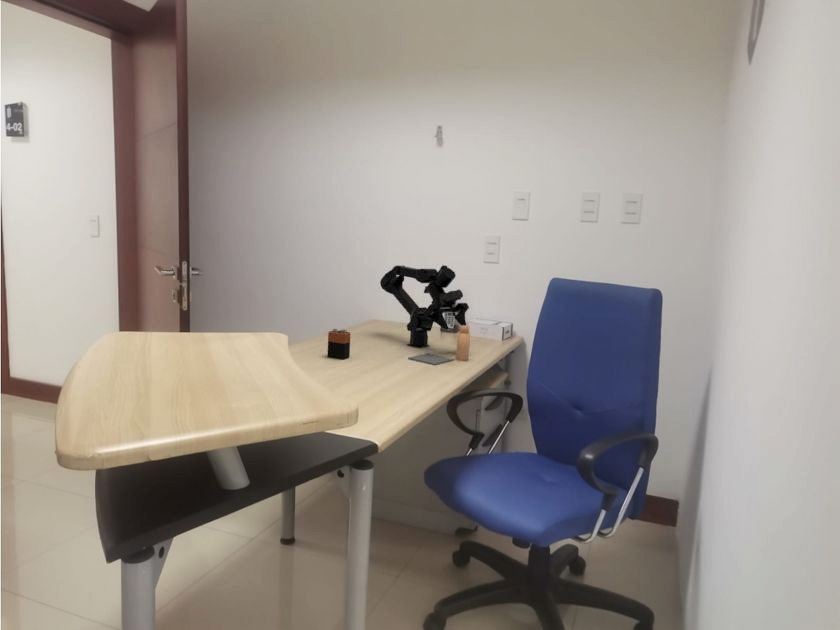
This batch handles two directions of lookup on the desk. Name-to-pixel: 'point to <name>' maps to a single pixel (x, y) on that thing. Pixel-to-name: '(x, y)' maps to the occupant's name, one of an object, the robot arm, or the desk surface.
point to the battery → (338, 344)
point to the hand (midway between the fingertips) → (456, 328)
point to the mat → (431, 359)
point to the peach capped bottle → (463, 343)
